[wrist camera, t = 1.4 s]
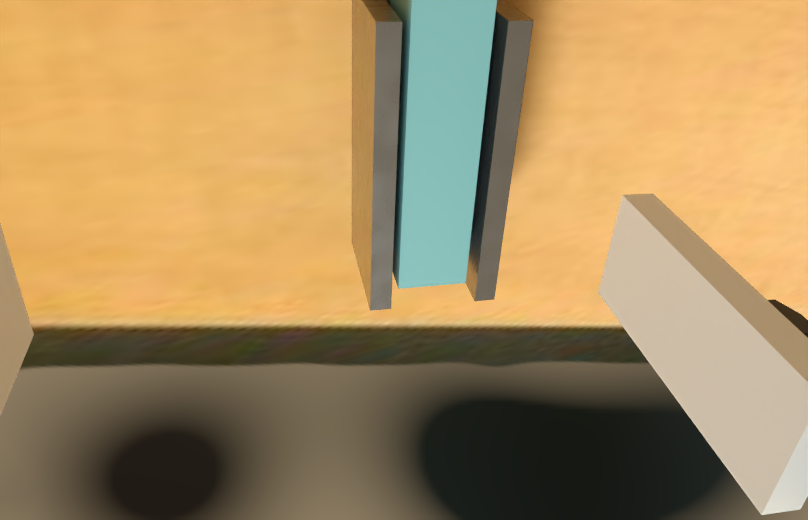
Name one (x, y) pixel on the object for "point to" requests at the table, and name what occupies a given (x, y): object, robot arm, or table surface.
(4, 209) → the table surface
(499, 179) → the sleeve
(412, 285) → the bar
